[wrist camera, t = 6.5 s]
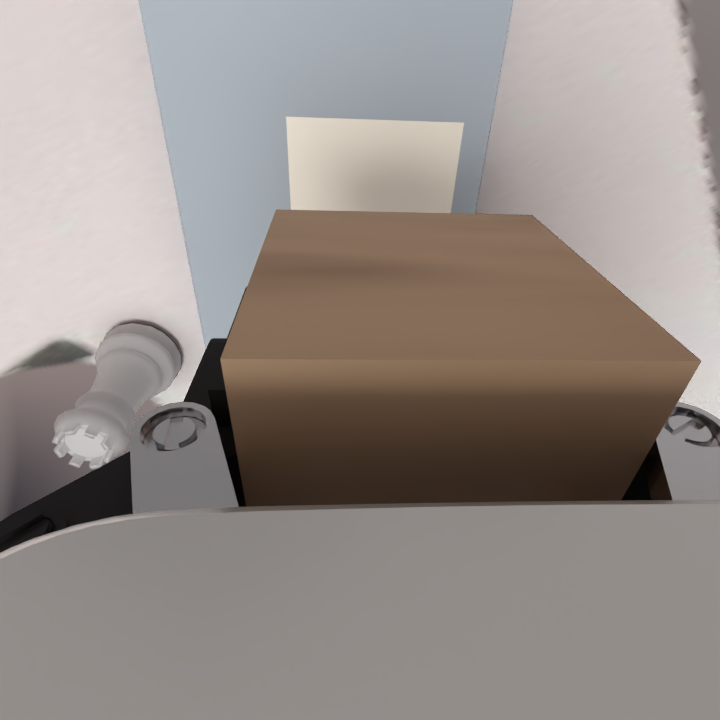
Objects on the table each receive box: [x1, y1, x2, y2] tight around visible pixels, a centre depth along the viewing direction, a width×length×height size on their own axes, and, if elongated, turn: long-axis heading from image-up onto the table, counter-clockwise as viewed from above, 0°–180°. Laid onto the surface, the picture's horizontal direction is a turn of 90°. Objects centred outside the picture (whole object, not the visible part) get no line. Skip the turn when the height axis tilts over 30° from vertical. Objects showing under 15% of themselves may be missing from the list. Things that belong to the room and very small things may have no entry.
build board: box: [139, 0, 513, 348], centre depth 22 cm, size 21×14×1 cm, turn 178°
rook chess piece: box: [52, 323, 181, 469], centre depth 23 cm, size 4×4×8 cm
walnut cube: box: [220, 209, 701, 507], centre depth 10 cm, size 6×6×6 cm
